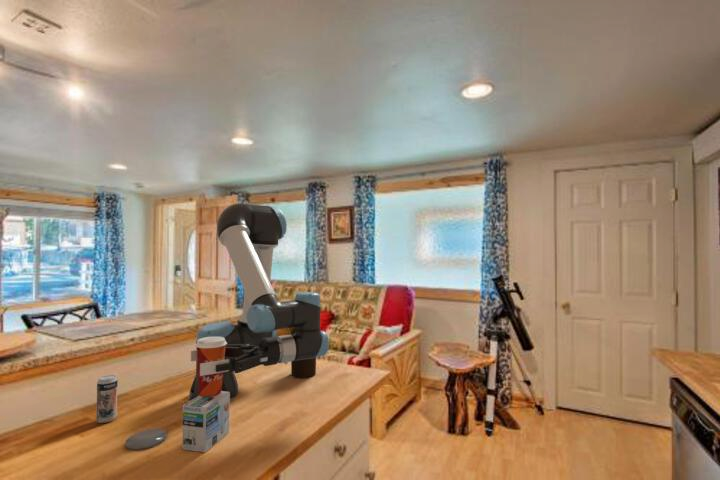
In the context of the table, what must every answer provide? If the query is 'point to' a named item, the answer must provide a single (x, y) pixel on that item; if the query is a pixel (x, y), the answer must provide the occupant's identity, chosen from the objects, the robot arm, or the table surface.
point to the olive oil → (303, 366)
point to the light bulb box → (205, 421)
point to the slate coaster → (146, 439)
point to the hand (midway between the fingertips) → (195, 362)
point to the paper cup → (210, 352)
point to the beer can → (106, 399)
